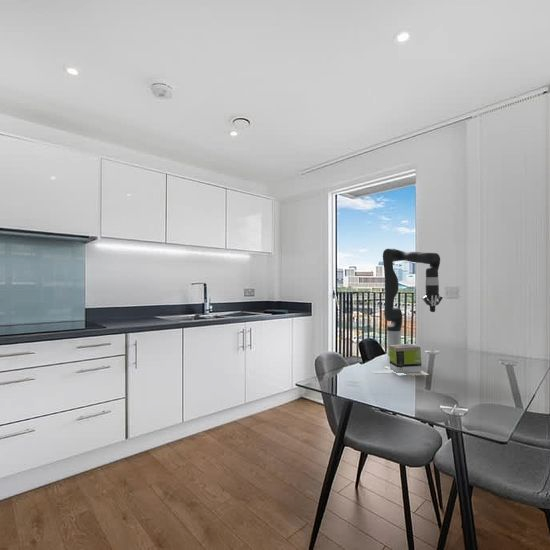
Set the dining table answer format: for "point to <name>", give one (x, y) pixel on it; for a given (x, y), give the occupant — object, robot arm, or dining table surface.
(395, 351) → the tea box
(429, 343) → the dining table surface
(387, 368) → the T mat
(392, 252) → the robot arm
